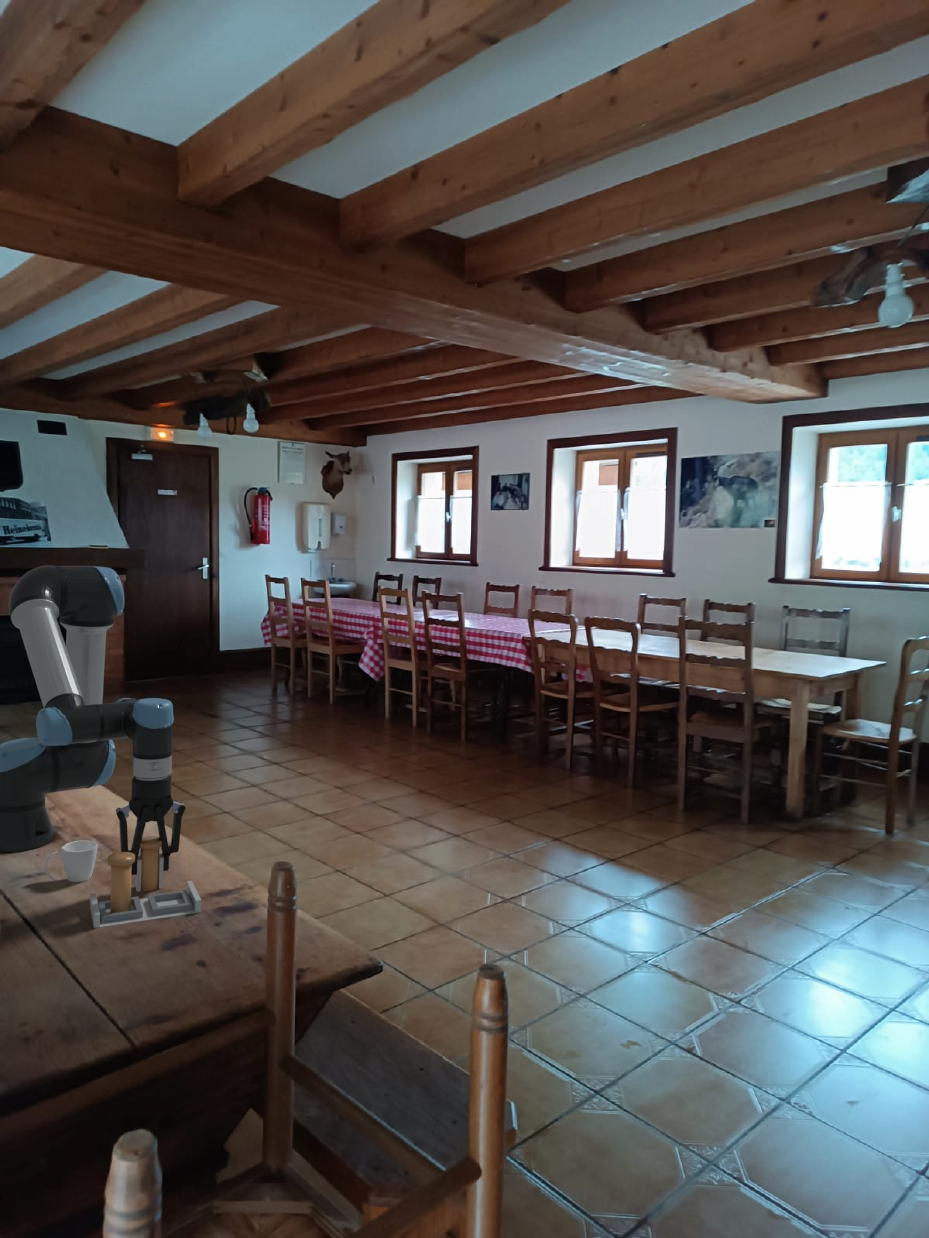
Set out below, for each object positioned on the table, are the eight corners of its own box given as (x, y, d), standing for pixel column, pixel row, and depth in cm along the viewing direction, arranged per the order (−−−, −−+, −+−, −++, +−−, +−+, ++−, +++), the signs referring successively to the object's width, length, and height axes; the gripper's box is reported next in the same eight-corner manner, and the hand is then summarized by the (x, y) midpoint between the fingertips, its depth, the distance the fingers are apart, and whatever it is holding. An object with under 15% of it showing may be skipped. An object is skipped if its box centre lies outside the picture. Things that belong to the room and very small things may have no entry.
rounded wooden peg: (105, 909, 163) (106, 853, 162) (132, 905, 166) (133, 850, 165) (107, 919, 159) (109, 862, 158) (135, 915, 161) (136, 859, 160)
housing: (89, 911, 164) (90, 893, 164) (191, 897, 173) (191, 880, 173) (93, 934, 156) (94, 915, 155) (200, 917, 164) (201, 899, 164)
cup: (97, 888, 175) (98, 850, 175) (43, 893, 171) (43, 854, 171) (97, 875, 182) (98, 838, 181) (45, 880, 178) (45, 842, 177)
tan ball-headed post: (135, 889, 175) (136, 837, 174) (159, 886, 178) (160, 835, 177) (137, 898, 171) (139, 845, 170) (163, 895, 173) (164, 842, 172)
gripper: (109, 784, 165) (106, 900, 167) (197, 777, 173) (194, 888, 175) (105, 773, 171) (103, 885, 174) (191, 767, 179) (187, 875, 181)
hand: (149, 887), depth 174 cm, fingers closed on tan ball-headed post, 3 cm apart
